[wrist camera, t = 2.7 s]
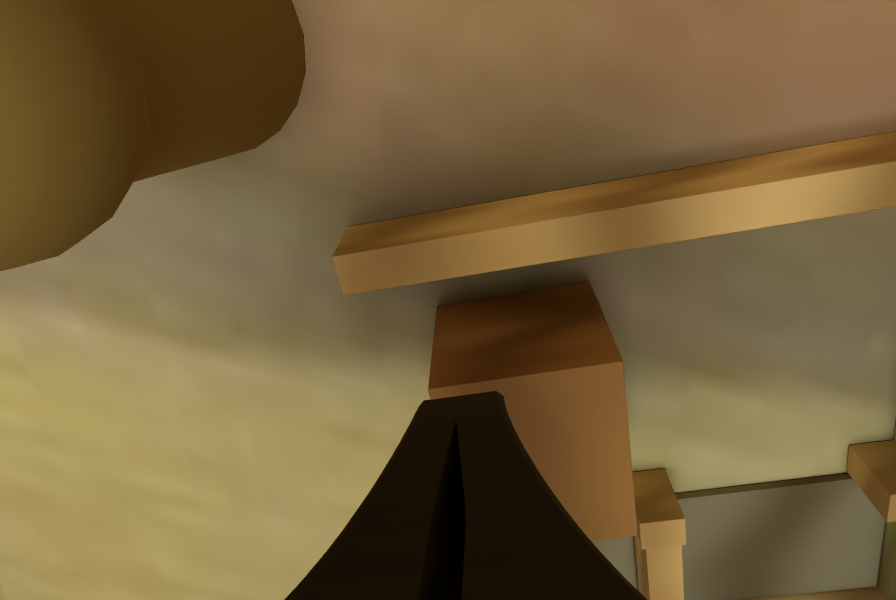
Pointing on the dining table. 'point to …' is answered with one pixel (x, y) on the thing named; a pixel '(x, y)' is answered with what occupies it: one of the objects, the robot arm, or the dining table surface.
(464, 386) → the walnut block
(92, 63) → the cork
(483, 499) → the robot arm
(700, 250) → the dining table surface
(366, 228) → the trap lane
